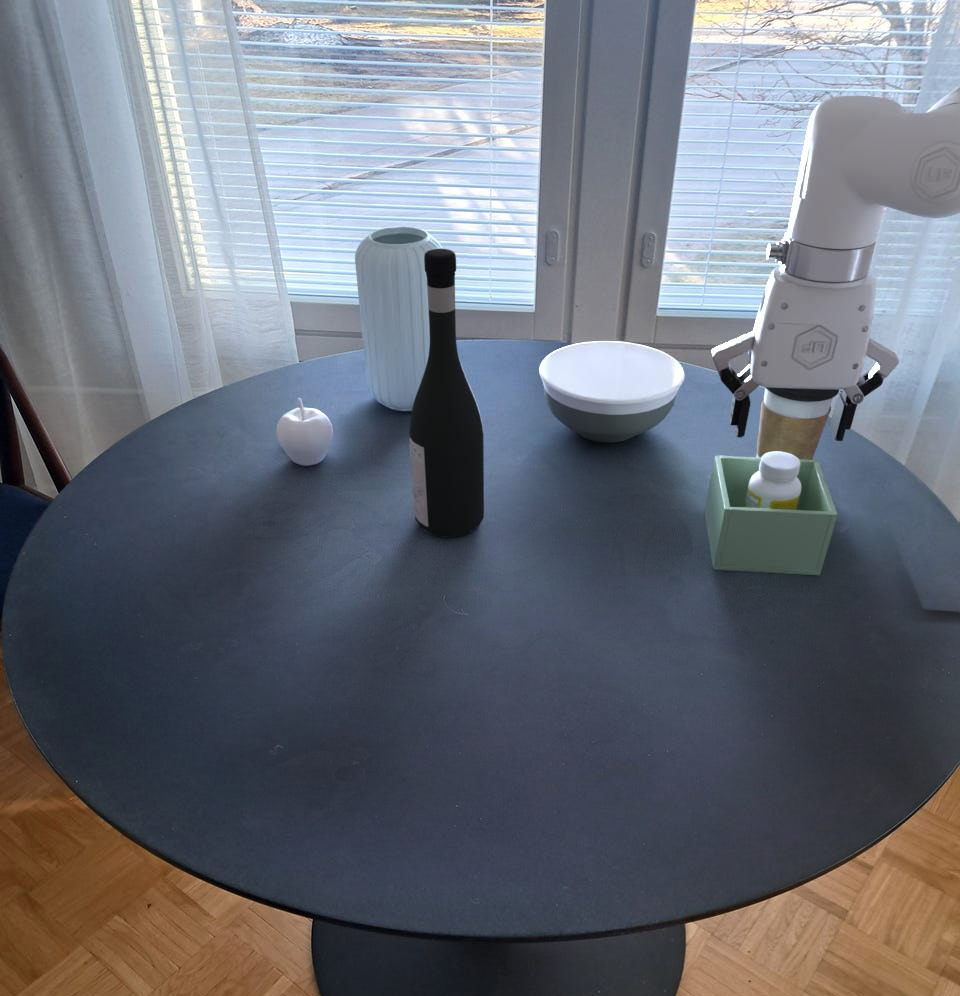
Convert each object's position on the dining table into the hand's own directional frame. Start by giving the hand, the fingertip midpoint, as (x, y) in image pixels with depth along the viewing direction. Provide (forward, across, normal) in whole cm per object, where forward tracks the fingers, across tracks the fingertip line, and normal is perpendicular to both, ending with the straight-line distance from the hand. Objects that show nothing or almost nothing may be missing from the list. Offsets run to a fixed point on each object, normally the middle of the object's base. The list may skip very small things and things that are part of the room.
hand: (786, 433), depth 91 cm
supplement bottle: (+13, 0, 0) cm, 13 cm away
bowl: (+14, -17, +26) cm, 34 cm away
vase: (+13, -45, +32) cm, 57 cm away
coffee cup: (+14, +4, +14) cm, 20 cm away
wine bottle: (+14, -35, +1) cm, 38 cm away
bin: (+14, 0, 0) cm, 14 cm away
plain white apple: (+13, -55, +14) cm, 59 cm away
